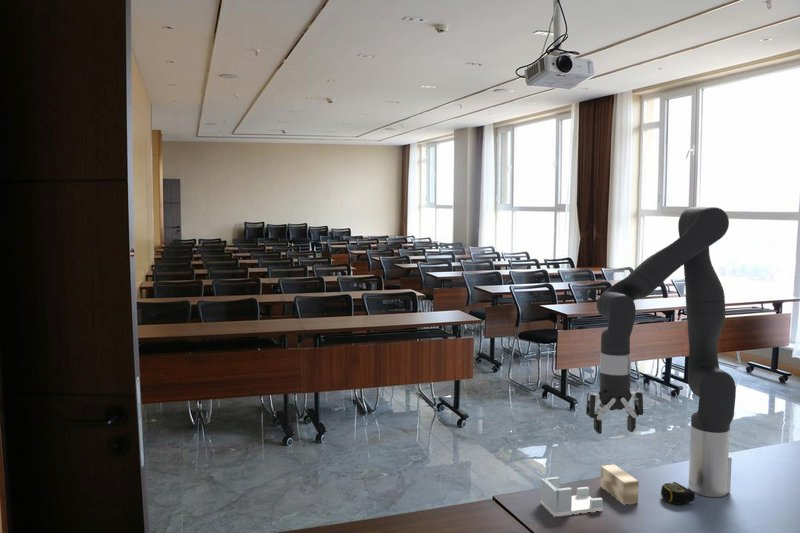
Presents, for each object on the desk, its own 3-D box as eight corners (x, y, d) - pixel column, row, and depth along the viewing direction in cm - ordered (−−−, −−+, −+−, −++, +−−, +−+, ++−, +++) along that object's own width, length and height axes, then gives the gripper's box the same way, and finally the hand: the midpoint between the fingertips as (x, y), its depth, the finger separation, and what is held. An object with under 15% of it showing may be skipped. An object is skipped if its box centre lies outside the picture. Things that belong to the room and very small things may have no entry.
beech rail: (600, 487, 172) (601, 465, 171) (613, 485, 173) (614, 464, 172) (623, 505, 161) (624, 482, 160) (637, 503, 162) (638, 481, 161)
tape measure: (695, 505, 161) (696, 490, 161) (673, 508, 159) (674, 494, 159) (676, 493, 168) (677, 480, 167) (654, 497, 166) (655, 483, 165)
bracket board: (587, 497, 165) (587, 473, 164) (602, 511, 158) (603, 485, 157) (540, 503, 162) (541, 478, 161) (554, 516, 155) (554, 490, 154)
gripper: (634, 365, 167) (634, 425, 168) (582, 367, 165) (582, 428, 167) (648, 372, 159) (648, 435, 161) (594, 375, 158) (593, 438, 159)
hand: (614, 432), depth 164 cm, fingers open, 8 cm apart
